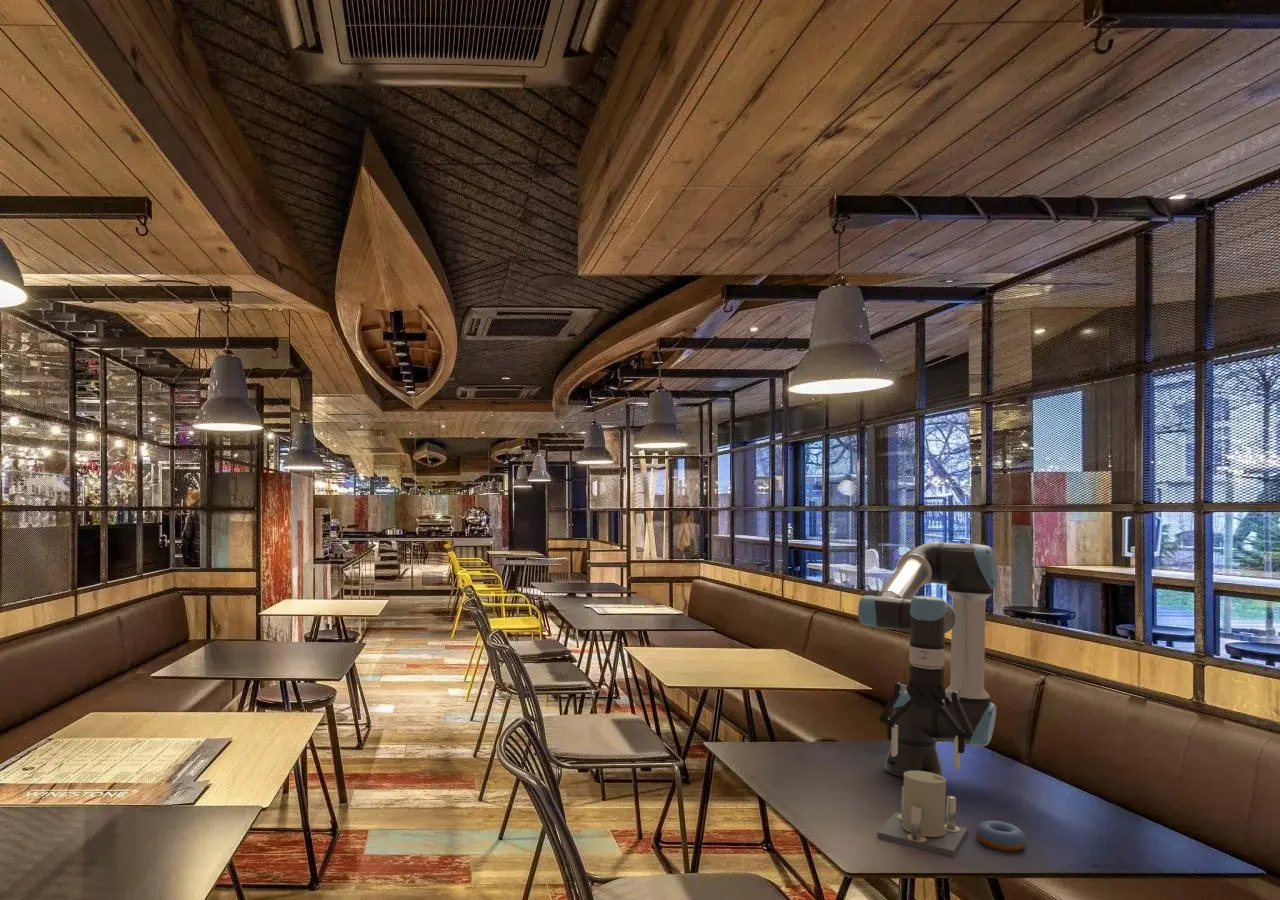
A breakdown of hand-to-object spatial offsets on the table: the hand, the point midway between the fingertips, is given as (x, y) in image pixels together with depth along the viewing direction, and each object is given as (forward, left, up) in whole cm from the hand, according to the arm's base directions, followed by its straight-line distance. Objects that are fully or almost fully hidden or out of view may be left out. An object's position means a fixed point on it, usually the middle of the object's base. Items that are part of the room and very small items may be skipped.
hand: (925, 761), depth 185 cm
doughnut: (-6, +15, -17) cm, 23 cm away
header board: (0, 0, -16) cm, 16 cm away
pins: (+1, 0, -15) cm, 15 cm away
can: (0, 0, -15) cm, 15 cm away
